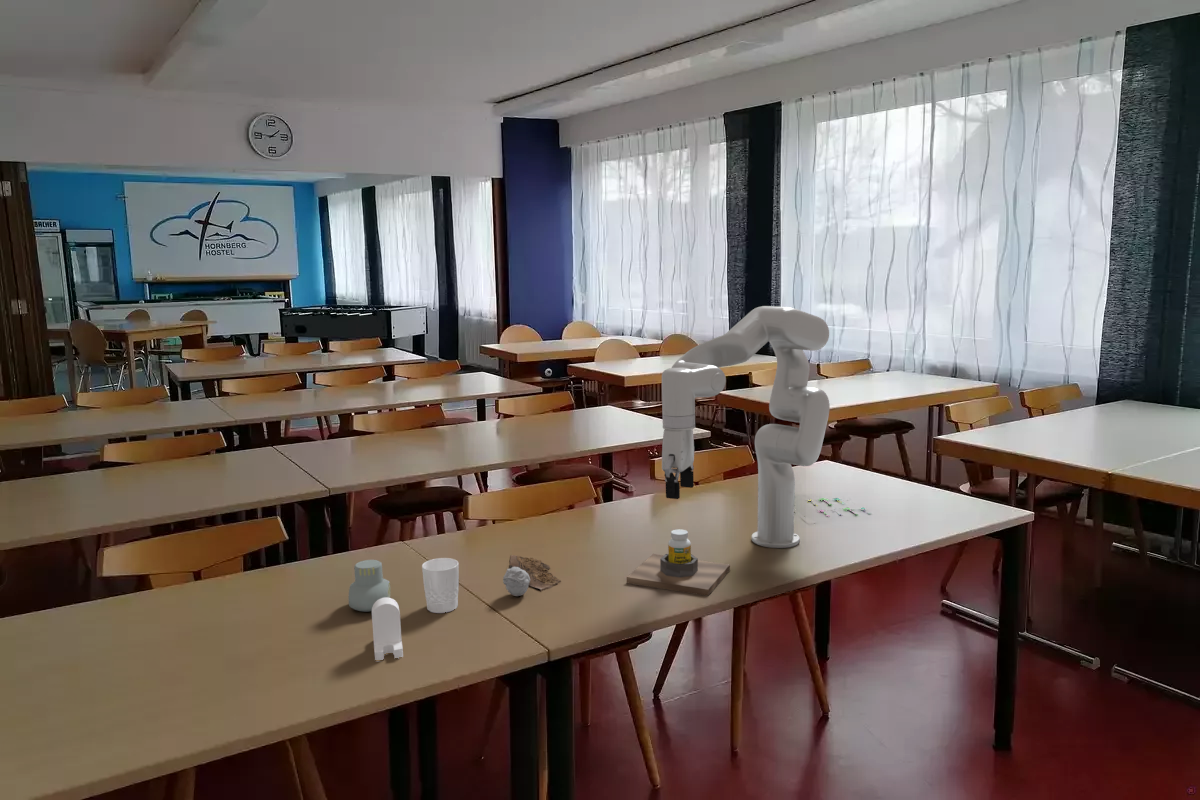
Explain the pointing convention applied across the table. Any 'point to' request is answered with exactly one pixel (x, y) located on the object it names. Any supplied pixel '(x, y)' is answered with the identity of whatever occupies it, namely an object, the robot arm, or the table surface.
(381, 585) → the air freshener
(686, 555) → the supplement bottle
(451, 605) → the white cup
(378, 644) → the white phone stand
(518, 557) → the wooden fragment
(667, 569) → the holder
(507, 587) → the crumpled paper ball
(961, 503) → the table surface
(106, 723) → the table surface
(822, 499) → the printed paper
